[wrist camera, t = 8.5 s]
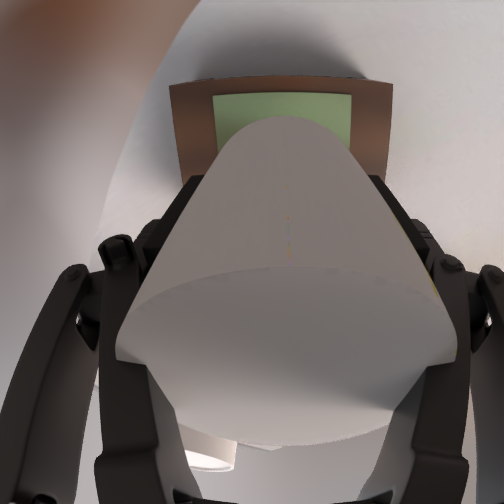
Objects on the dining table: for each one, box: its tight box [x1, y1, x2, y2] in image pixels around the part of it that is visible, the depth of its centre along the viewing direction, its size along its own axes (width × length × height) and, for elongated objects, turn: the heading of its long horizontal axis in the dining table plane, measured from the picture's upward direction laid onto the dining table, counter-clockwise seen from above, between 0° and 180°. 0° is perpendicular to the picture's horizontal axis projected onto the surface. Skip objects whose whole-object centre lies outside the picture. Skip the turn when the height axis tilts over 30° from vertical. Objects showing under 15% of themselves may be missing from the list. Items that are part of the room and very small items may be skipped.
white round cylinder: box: [115, 116, 457, 446], centre depth 11 cm, size 8×8×12 cm
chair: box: [169, 76, 393, 186], centre depth 22 cm, size 14×16×10 cm
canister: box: [177, 422, 237, 472], centre depth 37 cm, size 14×14×20 cm
